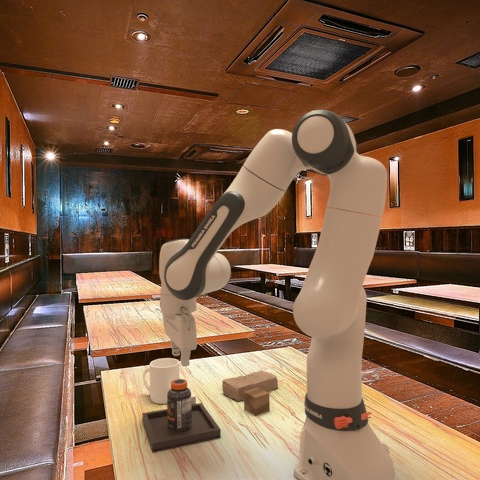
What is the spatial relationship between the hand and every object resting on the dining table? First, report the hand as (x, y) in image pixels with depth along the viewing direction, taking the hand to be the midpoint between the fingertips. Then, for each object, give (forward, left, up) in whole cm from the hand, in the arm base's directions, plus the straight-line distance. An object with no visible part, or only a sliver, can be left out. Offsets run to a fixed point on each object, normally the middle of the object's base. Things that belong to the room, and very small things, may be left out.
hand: (180, 360), depth 96 cm
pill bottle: (0, 0, -17) cm, 17 cm away
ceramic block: (+12, -3, -18) cm, 21 cm away
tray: (0, 0, -17) cm, 17 cm away
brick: (+15, -25, -18) cm, 35 cm away
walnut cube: (+2, -22, -17) cm, 28 cm away
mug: (+21, +1, -18) cm, 28 cm away
